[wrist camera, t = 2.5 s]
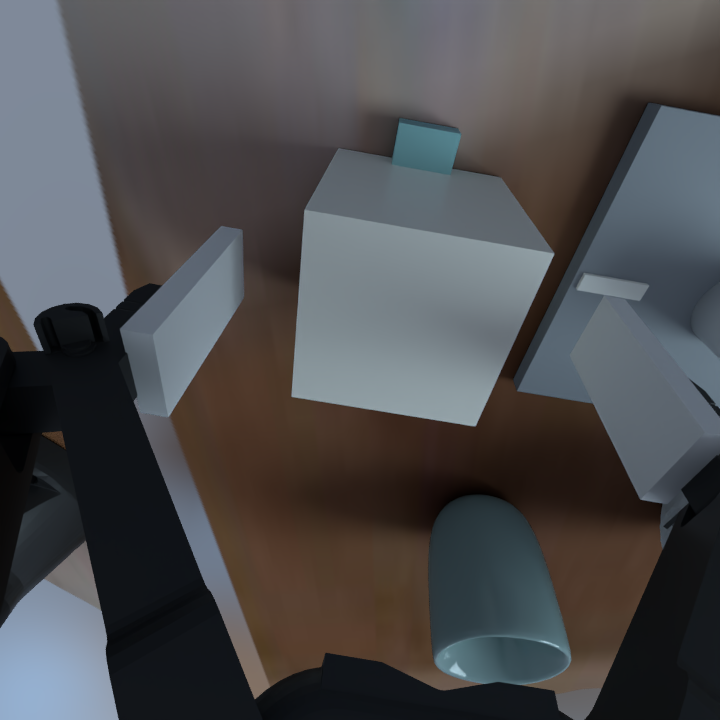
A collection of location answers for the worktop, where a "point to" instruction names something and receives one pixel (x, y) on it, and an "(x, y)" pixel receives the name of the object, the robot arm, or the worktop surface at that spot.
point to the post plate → (645, 256)
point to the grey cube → (412, 280)
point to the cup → (492, 596)
